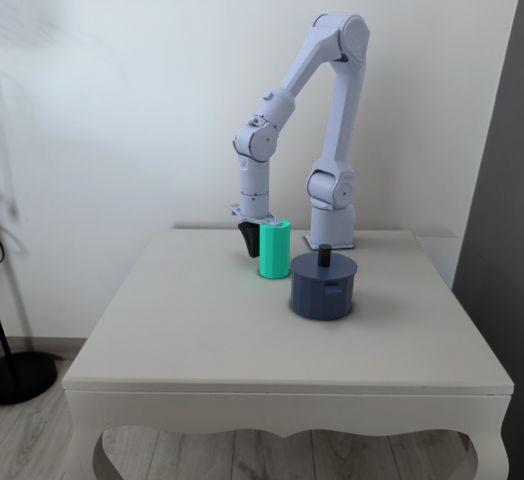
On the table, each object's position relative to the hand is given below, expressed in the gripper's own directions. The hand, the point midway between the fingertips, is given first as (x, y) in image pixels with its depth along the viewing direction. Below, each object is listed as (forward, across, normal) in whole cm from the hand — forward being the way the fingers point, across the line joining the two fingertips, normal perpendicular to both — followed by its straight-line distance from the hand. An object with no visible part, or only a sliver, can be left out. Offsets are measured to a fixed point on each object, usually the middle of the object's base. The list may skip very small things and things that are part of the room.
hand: (255, 256), depth 108 cm
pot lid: (-6, +22, -3) cm, 23 cm away
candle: (+2, +6, 0) cm, 6 cm away
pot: (+2, +22, -3) cm, 22 cm away
